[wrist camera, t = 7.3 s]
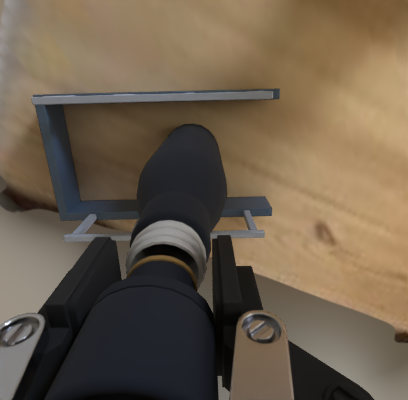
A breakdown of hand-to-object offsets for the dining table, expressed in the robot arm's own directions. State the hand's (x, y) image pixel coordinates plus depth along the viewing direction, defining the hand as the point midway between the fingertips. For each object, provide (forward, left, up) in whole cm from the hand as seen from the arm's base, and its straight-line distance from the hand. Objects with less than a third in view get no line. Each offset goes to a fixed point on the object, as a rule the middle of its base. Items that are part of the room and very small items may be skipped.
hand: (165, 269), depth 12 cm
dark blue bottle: (0, 0, -24) cm, 24 cm away
